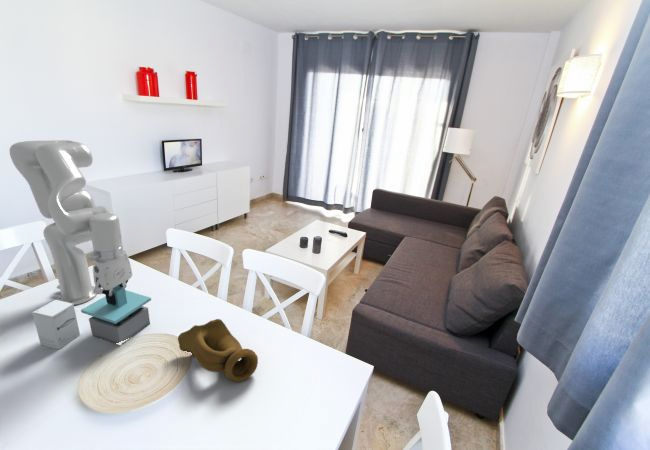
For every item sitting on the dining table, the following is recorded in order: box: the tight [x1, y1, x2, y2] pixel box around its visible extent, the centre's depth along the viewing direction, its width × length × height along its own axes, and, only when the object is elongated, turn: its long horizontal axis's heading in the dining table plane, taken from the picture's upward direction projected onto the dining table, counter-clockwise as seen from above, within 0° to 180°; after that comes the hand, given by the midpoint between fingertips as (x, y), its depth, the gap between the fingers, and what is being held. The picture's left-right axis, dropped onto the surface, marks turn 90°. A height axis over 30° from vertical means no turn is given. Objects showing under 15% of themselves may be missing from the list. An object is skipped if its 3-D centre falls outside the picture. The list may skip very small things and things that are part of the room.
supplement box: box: [31, 299, 81, 350], centre depth 99 cm, size 7×7×13 cm
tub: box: [88, 305, 151, 345], centre depth 107 cm, size 12×12×7 cm
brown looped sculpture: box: [177, 318, 259, 383], centre depth 97 cm, size 18×13×22 cm
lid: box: [80, 286, 152, 324], centre depth 104 cm, size 14×14×8 cm
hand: (116, 300), depth 104 cm, fingers closed on lid, 3 cm apart
